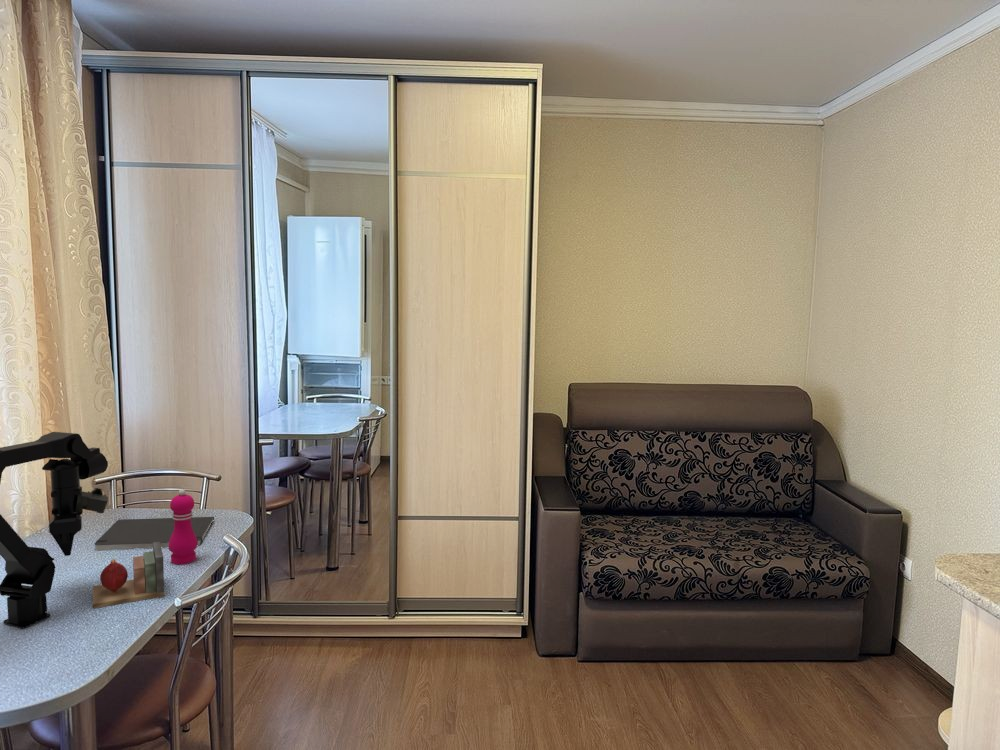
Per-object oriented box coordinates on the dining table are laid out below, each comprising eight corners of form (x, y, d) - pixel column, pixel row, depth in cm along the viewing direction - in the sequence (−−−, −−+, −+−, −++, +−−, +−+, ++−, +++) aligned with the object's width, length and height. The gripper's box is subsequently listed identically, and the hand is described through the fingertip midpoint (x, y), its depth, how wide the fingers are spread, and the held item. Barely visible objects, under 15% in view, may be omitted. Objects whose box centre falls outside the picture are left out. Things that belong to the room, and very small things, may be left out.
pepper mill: (186, 566, 185) (185, 494, 183) (163, 563, 186) (161, 491, 184) (203, 556, 192) (202, 486, 190) (180, 553, 193) (178, 484, 191)
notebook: (214, 523, 220) (118, 526, 214) (214, 516, 220) (118, 519, 214) (199, 548, 199) (92, 552, 193) (199, 540, 199) (92, 544, 193)
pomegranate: (133, 590, 168) (132, 558, 167) (109, 598, 163) (108, 566, 162) (119, 584, 171) (118, 553, 170) (95, 592, 166) (94, 560, 165)
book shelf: (92, 608, 160) (91, 567, 159) (93, 589, 170) (91, 550, 168) (164, 596, 168) (163, 556, 166) (160, 578, 177) (159, 541, 176)
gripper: (105, 491, 158) (107, 557, 160) (104, 471, 174) (107, 531, 176) (47, 497, 153) (50, 565, 154) (52, 476, 169) (55, 537, 171)
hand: (68, 548), depth 164 cm, fingers open, 9 cm apart
